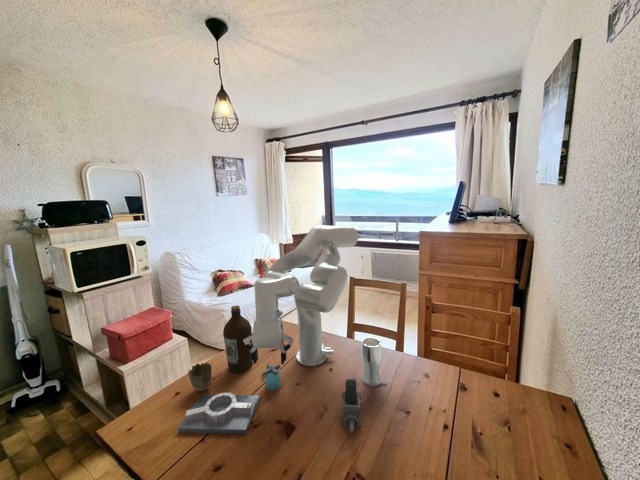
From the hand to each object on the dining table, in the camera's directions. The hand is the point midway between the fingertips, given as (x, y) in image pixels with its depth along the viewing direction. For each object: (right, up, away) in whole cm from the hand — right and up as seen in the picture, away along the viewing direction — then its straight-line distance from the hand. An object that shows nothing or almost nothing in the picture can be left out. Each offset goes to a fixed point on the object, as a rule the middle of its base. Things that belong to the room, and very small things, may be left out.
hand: (269, 361), depth 91 cm
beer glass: (+36, -8, +3) cm, 37 cm away
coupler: (+1, -10, +2) cm, 10 cm away
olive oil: (-14, -9, +14) cm, 22 cm away
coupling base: (-13, -12, -10) cm, 20 cm away
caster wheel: (+27, -11, -13) cm, 32 cm away
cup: (-24, -11, +2) cm, 26 cm away
